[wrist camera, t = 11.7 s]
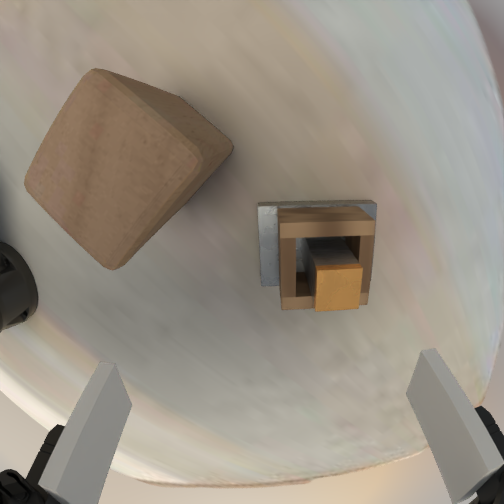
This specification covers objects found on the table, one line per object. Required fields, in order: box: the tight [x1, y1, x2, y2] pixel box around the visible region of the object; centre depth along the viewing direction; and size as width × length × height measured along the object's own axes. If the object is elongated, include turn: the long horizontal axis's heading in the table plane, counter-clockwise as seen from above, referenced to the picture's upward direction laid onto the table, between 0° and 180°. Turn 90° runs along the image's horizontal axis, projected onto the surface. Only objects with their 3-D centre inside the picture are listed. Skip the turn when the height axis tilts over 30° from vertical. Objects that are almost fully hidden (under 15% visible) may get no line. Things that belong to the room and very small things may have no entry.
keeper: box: [258, 200, 377, 312], centre depth 32 cm, size 14×10×13 cm
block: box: [24, 68, 233, 270], centre depth 25 cm, size 10×10×20 cm
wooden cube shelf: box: [277, 206, 375, 310], centre depth 34 cm, size 10×10×6 cm
